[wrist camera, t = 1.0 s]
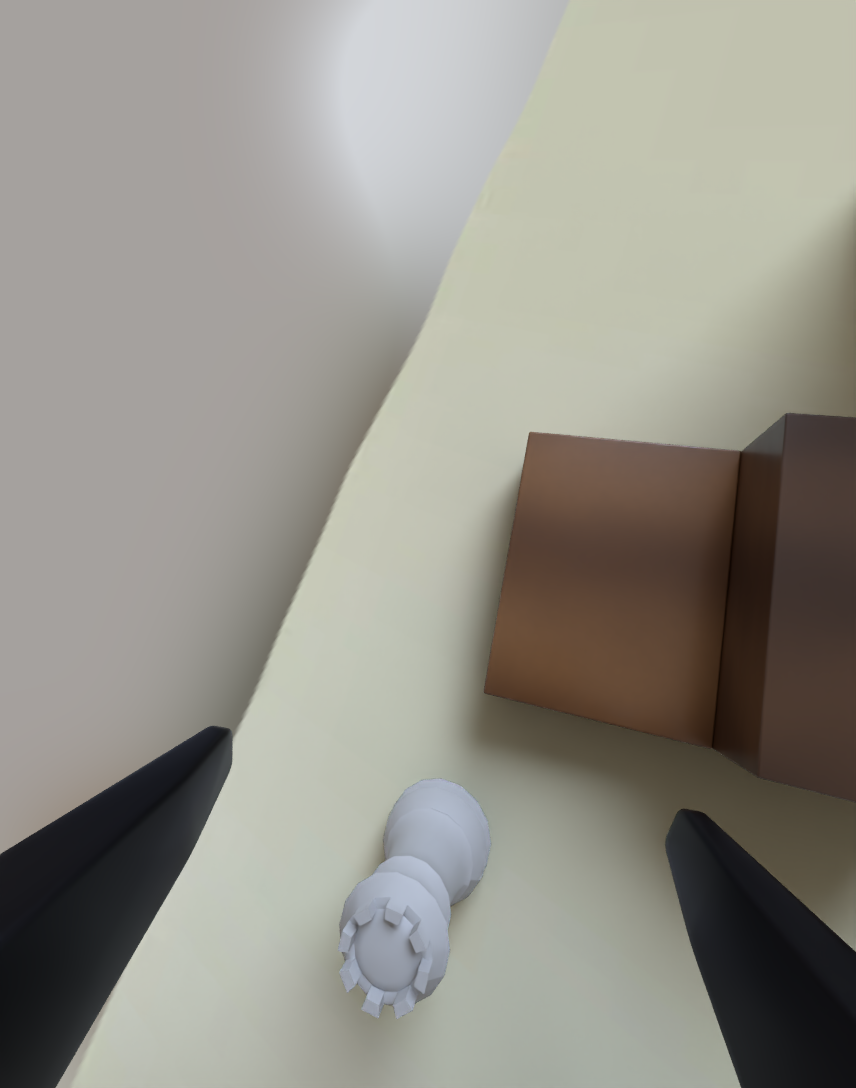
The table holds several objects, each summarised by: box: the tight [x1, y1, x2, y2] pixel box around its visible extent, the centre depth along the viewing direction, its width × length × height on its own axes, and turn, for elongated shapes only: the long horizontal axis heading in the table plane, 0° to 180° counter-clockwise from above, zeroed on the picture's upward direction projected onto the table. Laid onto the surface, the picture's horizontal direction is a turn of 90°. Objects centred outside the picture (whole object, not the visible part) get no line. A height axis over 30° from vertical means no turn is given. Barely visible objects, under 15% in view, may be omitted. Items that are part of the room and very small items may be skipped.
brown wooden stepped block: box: [484, 413, 856, 802], centre depth 15 cm, size 11×16×8 cm
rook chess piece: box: [338, 778, 491, 1019], centre depth 15 cm, size 4×4×8 cm
